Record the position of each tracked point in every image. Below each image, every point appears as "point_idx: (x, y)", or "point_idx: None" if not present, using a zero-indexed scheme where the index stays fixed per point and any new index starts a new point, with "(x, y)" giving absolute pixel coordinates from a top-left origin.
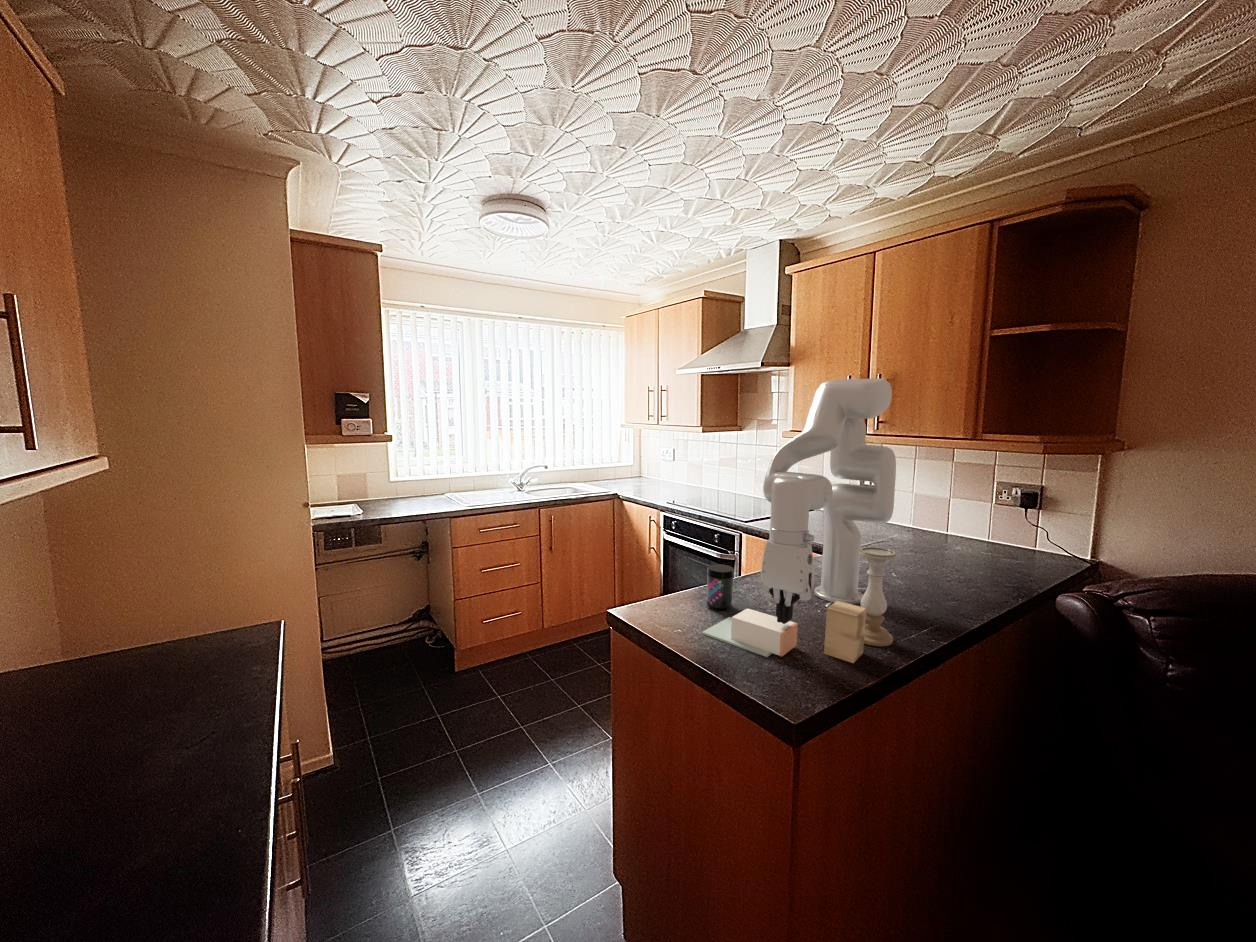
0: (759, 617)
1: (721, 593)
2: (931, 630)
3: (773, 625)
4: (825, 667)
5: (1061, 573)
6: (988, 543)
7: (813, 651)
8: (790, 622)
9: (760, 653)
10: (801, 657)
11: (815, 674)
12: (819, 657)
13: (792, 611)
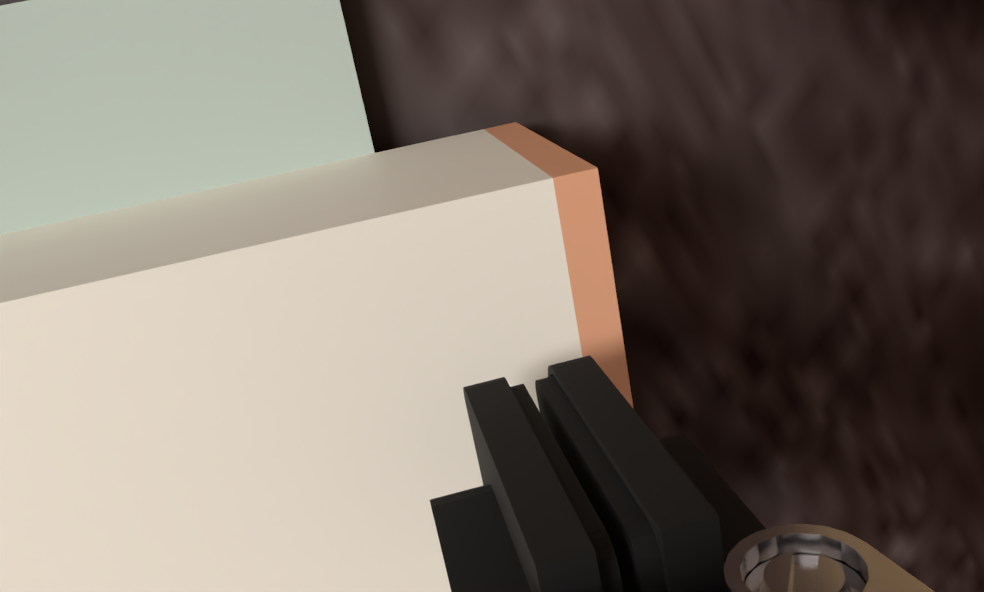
0: (80, 511)
1: None
2: None
3: (424, 542)
4: (905, 238)
5: None
6: None
7: (676, 30)
8: (507, 239)
9: None
10: (666, 262)
11: (896, 415)
12: (782, 104)
13: (725, 491)
